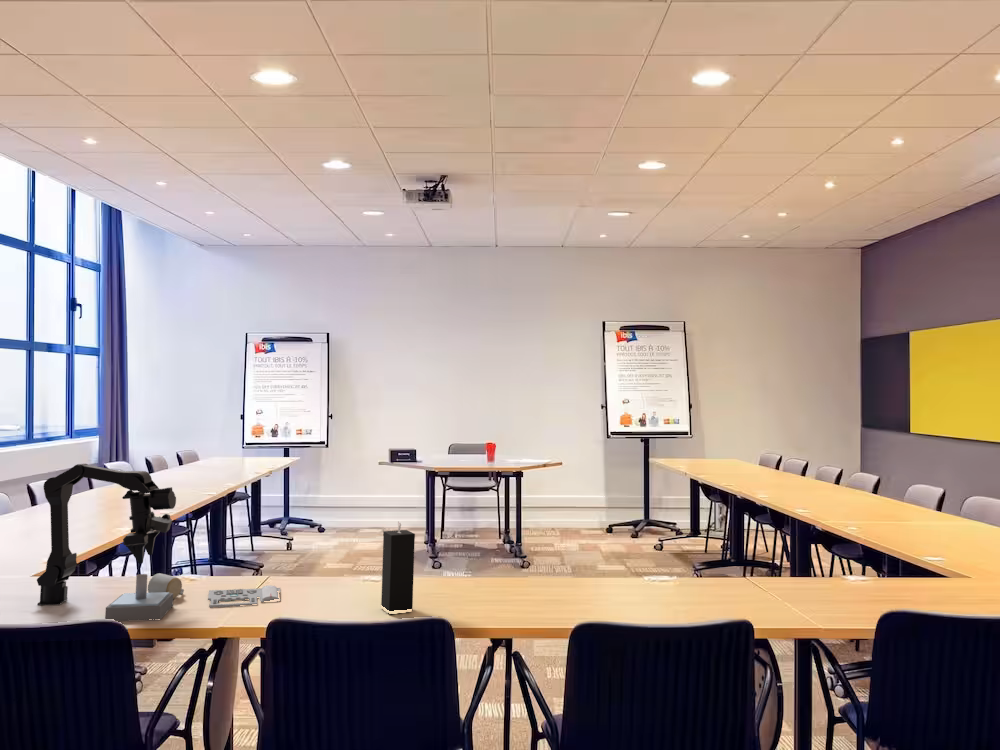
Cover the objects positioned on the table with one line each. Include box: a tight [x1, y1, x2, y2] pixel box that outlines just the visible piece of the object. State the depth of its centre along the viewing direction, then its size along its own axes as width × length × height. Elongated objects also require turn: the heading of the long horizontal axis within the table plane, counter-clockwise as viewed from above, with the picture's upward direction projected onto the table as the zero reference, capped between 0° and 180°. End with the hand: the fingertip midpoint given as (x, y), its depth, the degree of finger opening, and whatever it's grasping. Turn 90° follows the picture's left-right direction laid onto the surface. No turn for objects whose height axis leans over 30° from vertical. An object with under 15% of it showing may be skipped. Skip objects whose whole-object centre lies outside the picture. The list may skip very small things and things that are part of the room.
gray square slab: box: [104, 593, 174, 622], centre depth 224 cm, size 15×15×4 cm
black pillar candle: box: [380, 521, 416, 611], centre depth 234 cm, size 8×8×28 cm
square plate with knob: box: [110, 573, 169, 607], centre depth 224 cm, size 13×13×8 cm
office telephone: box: [207, 585, 281, 609], centre depth 244 cm, size 23×3×20 cm
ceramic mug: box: [147, 572, 185, 600], centre depth 243 cm, size 11×8×8 cm
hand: (145, 559), depth 236 cm, fingers open, 9 cm apart
